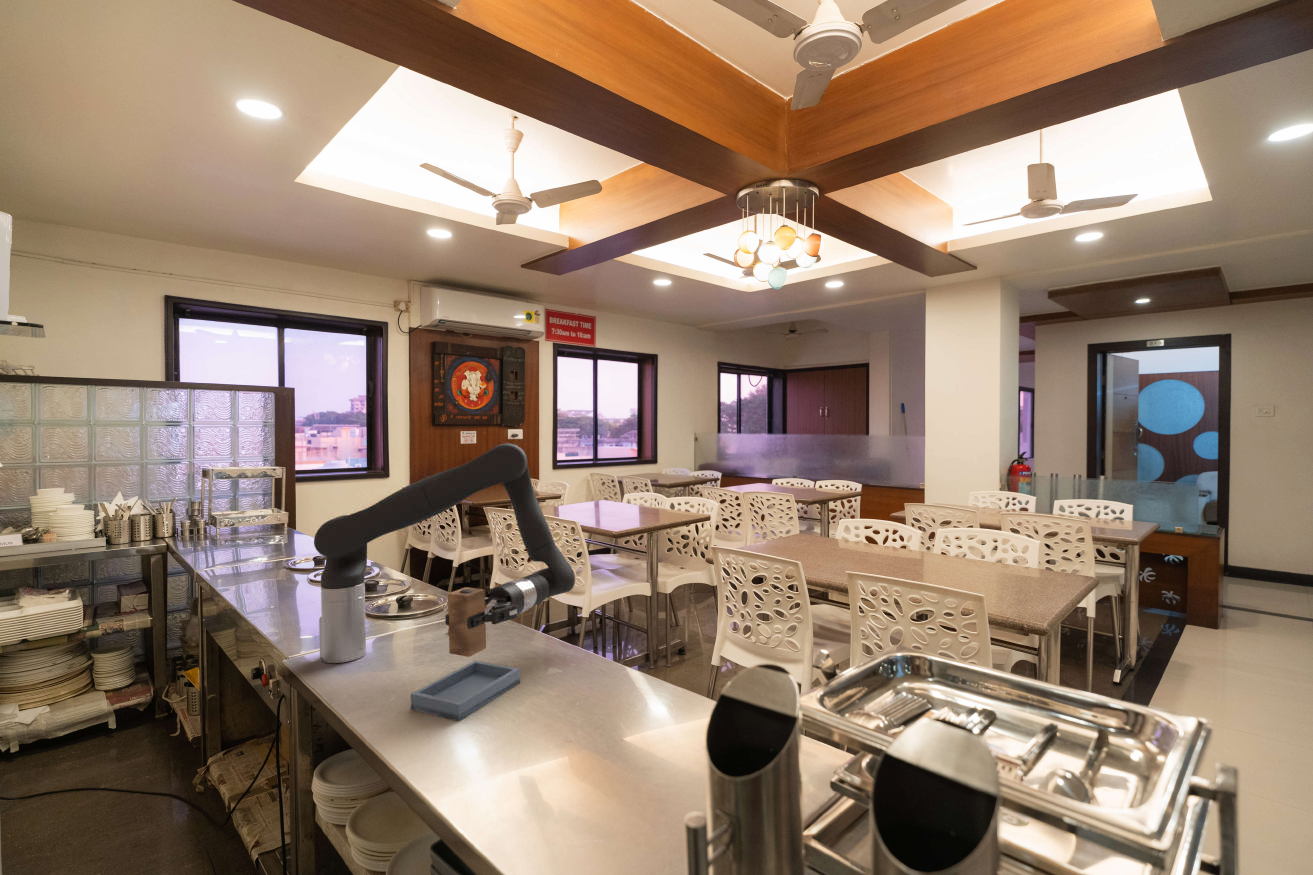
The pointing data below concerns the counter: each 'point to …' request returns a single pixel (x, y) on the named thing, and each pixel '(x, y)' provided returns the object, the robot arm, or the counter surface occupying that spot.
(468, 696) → the slate tray
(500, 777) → the counter surface
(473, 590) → the walnut block
